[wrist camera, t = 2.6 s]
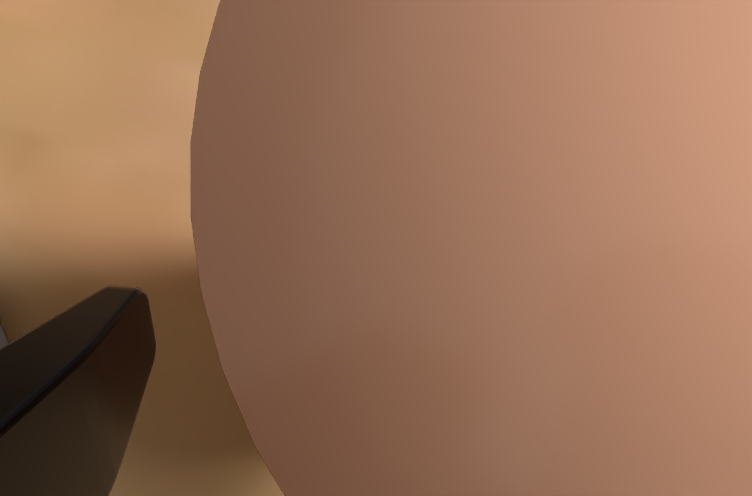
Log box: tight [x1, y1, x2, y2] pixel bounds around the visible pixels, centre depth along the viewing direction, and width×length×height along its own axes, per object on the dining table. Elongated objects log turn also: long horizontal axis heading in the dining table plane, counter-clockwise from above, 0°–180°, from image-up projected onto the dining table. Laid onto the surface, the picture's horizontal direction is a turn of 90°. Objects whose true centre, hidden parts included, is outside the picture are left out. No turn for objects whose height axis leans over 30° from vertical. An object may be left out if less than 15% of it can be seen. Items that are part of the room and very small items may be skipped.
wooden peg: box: [191, 0, 752, 496], centre depth 10 cm, size 5×5×14 cm
